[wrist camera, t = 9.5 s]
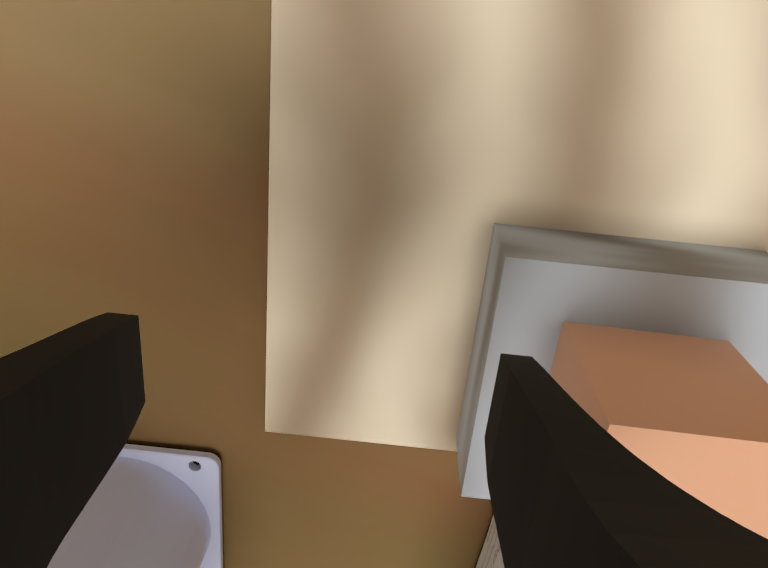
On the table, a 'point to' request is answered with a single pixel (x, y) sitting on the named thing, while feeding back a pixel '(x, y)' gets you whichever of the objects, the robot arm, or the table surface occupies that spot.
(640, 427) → the block
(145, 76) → the table surface
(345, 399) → the base board
